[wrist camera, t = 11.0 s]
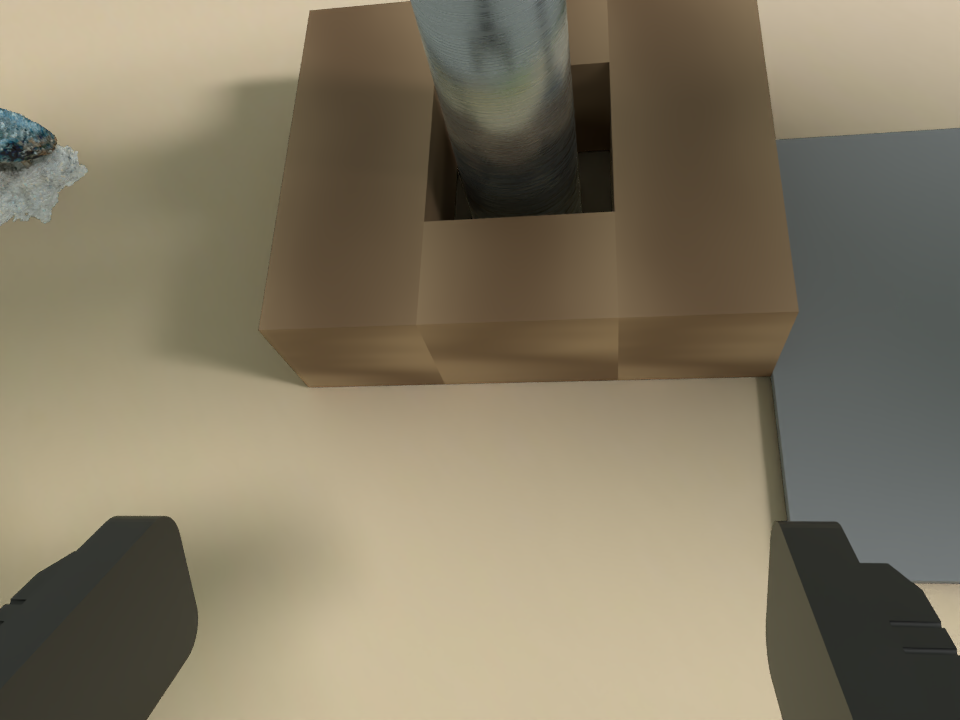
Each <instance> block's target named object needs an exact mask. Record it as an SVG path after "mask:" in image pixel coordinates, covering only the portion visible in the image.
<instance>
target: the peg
mask: <svg viewBox="0 0 960 720" xmlns="http://www.w3.org/2000/svg"><path fill="white" fill-rule="evenodd" d="M410 1H411V5H412V8H413V12H414V15H415V19H416V22H417V26H418V29H419V33H420V36H421V40H422V43H423V47H424V50H425V54H426V57H427V61H428V64H429V68H430V71H431V75H432V78H433V82H434V85H435V89H436V92H437V96H438V99H439V103H440V106H441V110H442V113H443V117H444V120H445V124H446V127H447V131H448V134H449V138H450V141H451V145H452V148H453V152H454V155H455V159H456V162H457V166H458V169H459V173H460V176H461V180H462V183H463V187H464V190H465V194H466V197H467V201H468V204H469V208H470V211H471V215H472V218H473V219H483V218H502V217H521V216H540V215H559V214H578V213H582V210H581V196H580V183H579V169H578V156H577V142H576V129H575V115H574V102H573V88H572V75H571V61H570V48H569V34H568V21H567V7H566V0H410Z"/></svg>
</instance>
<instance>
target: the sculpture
mask: <svg viewBox="0 0 960 720" xmlns="http://www.w3.org/2000/svg"><path fill="white" fill-rule="evenodd" d="M77 154H78V151H77V152H76V151H73V150H72V148H71V147H68V145H67V146H65V148H64V147H63V146H62V147H61V146H60V145H57V139H56V137H55V135H53V134H52V133H51V132H50V131H48V130H47V129H45V128H44V127H42V126H41V125H39V124H38V123H36V122H33V121H31V120H28V118H25V117H24V115H23V116H22V115H21V114H17V113H15V112H14V113H13V112H11V111H7V110H5V109H1V108H0V226H1V225H2V224H3V223H5V221H6V222H7V221H8V220H10V218H12V216H14V215H15V217H14V219H13V222H14V221H16V219H19V218H20V219H22V220H23V221H25V220H26V221H28V220H29V218H30V216H31V217H32V216H33V217H35V216H36V218H38V219H39V220H40V219H41V222H43V223H44V224H45V223H47V222H50V220H51V216H50V215H52V213H51V210H52V207H54V206H55V205H56V203H58V197H59V195H58V193H57V192H60V191H61V190H60V189H61V188H62V189H63V188H64V186H66V185H67V186H71V185H73V184H74V182H76V181H78V180H79V179H80V177H82V176H84V174H85V173H87V172H88V170H87V168H85V165H82V164H81V166H79V162H78V157H77ZM25 212H26V213H28V215H26V216H25ZM22 220H20V221H22Z"/></svg>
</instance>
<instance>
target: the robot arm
mask: <svg viewBox="0 0 960 720" xmlns="http://www.w3.org/2000/svg"><path fill="white" fill-rule="evenodd" d="M197 626H198V612H197V606H196V602H195V597H194V593H193V589H192V584H191V580H190V576H189V571H188V567H187V563H186V558H185V554H184V550H183V546H182V541H181V537H180V533H179V530H178V527H177V525H176V523H175V522H174V520H172V519H171V518H170V517H167V516H115V517H112V518H110V519H109V520H108V521H107V522H105V523H104V524H103V525H102V526H101V527H100V528H99V529H98V530H97V531H96V532H95V533H94V534H93V535H92V536H91V537H90V538H89V539H88V540H87V541H86V542H85V543H84V544H83V545H82V546H81V547H80V548H79V549H78V550H77V551H74V552H73V553H71V554H69V555H68V556H66V557H64V558H63V559H61V560H59V561H58V562H56V563H54V564H53V565H51V566H49V567H48V568H46V569H44V570H43V571H41V572H39V573H38V574H36V575H35V576H34V577H33V578H32V579H31V580H30V581H29V582H28V583H27V584H26V585H25V586H24V587H23V588H22V589H21V590H20V591H19V592H18V593H17V594H15V595H14V596H13V597H12V598H11V602H10V604H5V605H4V606H3V607H2V608H1V609H0V720H147V718H148V717H149V715H150V714H151V712H152V711H153V709H154V708H155V706H156V705H157V703H158V702H159V700H160V699H161V697H162V696H163V694H164V693H165V691H166V690H167V688H168V687H169V685H170V684H171V682H172V681H173V679H174V678H175V676H176V675H177V673H178V672H179V670H180V669H181V667H182V666H183V664H184V663H185V661H186V660H187V658H188V656H189V655H190V653H191V650H192V648H193V645H194V642H195V638H196V634H197ZM766 646H767V656H768V663H769V669H770V674H771V678H772V682H773V686H774V689H775V693H776V697H777V700H778V704H779V708H780V711H781V715H782V719H783V720H960V655H957V648H956V646H955V645H954V643H953V641H952V640H951V638H950V636H949V634H948V633H947V631H946V629H945V628H942V627H941V621H940V619H939V618H938V616H937V614H936V612H935V611H934V609H933V607H932V606H931V604H930V602H929V601H928V599H927V597H926V596H925V594H924V592H923V590H921V589H920V588H919V587H918V586H916V585H915V584H914V583H913V582H911V581H910V580H909V579H907V578H906V577H905V576H904V575H902V574H901V573H900V572H899V571H897V570H896V569H895V568H893V567H892V566H891V565H890V564H888V563H860V562H859V560H858V558H857V556H856V554H855V552H854V550H853V548H852V546H851V544H850V542H849V540H848V538H847V536H846V534H845V532H844V530H843V528H842V527H841V525H840V524H839V523H838V522H836V521H775V522H774V523H773V526H772V531H771V540H770V558H769V576H768V594H767V612H766Z"/></svg>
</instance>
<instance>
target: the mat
mask: <svg viewBox="0 0 960 720" xmlns="http://www.w3.org/2000/svg"><path fill="white" fill-rule="evenodd" d="M776 146H777V153H778V161H779V168H780V176H781V183H782V190H783V198H784V205H785V213H786V220H787V227H788V235H789V242H790V250H791V257H792V264H793V272H794V279H795V286H796V294H797V301H798V309H799V313H798V315H797V317H796V319H795V322H794V324H793V326H792V329H791V331H790V333H789V336H788V338H787V340H786V343H785V345H784V347H783V349H782V352H781V354H780V356H779V359H778V361H777V363H776V366H775V368H774V370H773V373H772V375H771V382H772V391H773V399H774V408H775V417H776V425H777V434H778V443H779V451H780V460H781V468H782V477H783V486H784V494H785V503H786V512H787V520H788V521H836V522H838V523H839V524H840V525H841V527H842V528H843V530H844V532H845V534H846V536H847V538H848V540H849V542H850V544H851V546H852V548H853V550H854V552H855V554H856V556H857V558H858V560H859V562H860V563H888V564H890V565H891V566H892V567H893V568H895V569H896V570H897V571H899V572H900V573H901V574H902V575H904V576H905V577H906V578H907V579H909V580H910V581H911V582H913V583H940V584H960V128H952V129H937V130H921V131H906V132H890V133H874V134H859V135H843V136H827V137H812V138H796V139H780V140H776Z"/></svg>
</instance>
